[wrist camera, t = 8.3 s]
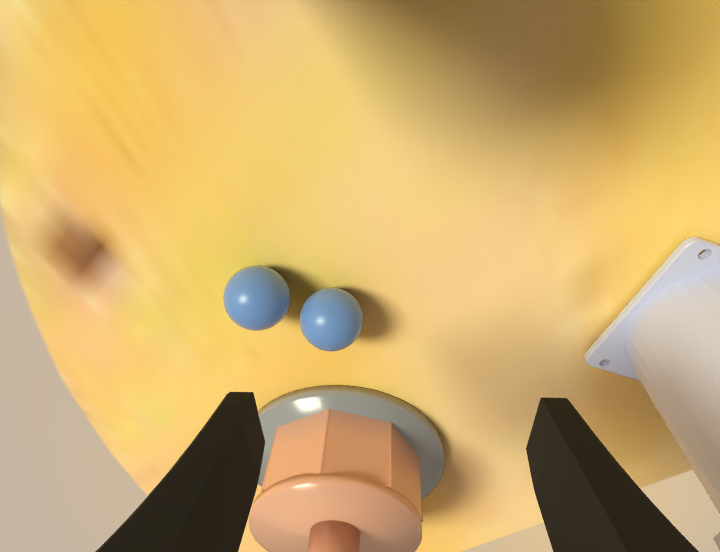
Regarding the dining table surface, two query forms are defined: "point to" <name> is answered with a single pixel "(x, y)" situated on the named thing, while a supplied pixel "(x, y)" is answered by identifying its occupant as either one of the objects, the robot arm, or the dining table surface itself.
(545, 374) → the dining table surface
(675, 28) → the dining table surface
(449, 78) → the dining table surface
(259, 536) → the lid with knob
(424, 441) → the slate plate
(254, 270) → the blue marble
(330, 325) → the blue marble
